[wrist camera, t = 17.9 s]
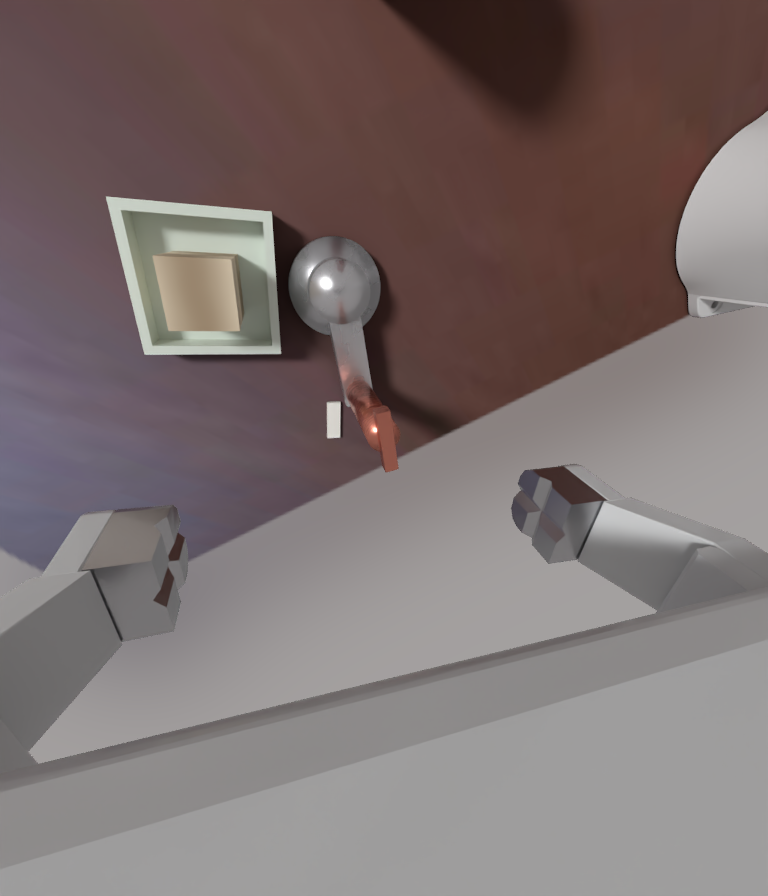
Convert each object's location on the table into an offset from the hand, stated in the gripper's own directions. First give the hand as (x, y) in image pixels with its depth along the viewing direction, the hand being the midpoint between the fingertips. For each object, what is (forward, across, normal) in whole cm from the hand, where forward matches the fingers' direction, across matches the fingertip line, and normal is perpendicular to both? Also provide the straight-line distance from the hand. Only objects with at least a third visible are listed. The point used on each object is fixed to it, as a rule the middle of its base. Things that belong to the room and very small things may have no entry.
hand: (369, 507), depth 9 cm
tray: (+25, +6, -2) cm, 26 cm away
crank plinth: (+25, -3, -2) cm, 25 cm away
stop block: (+24, +6, -2) cm, 25 cm away
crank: (+24, -4, +2) cm, 24 cm away
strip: (+25, -3, +10) cm, 27 cm away
